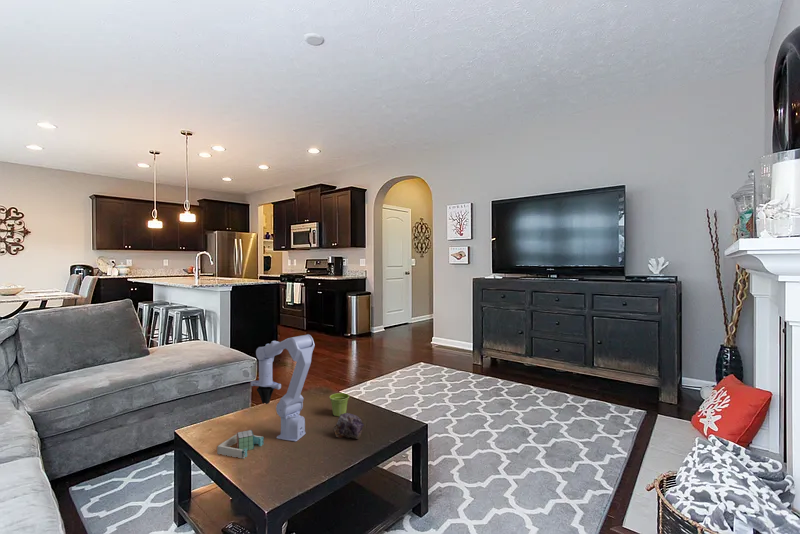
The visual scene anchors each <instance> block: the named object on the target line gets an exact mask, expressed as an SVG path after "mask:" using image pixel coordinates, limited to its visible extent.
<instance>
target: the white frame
mask: <svg viewBox="0 0 800 534" xmlns="http://www.w3.org/2000/svg"><path fill="white" fill-rule="evenodd" d="M253 435H254V445H258V447H262V446H263V445H264V436H261V435H255V434H253ZM235 444H237V433H236V434H234V435H233V436H230V438H228V439H226V440H225V441H223V442H222V443H220V444H219V445H217V447H216V450H217V451H216V453H217V454H218V455H220V454H222V455H221V456H226V455H227V456H226V457H231V456H232V458H236V457H238V459H241V458H242V459H243V460H244V459H246V458H247V457H248V450H247V448H245V449H244V450H242V449H237V447H236V448H235V447H232V446H234V445H235ZM230 446H231V447H230ZM245 457H246V458H245Z"/></svg>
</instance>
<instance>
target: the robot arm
mask: <svg viewBox="0 0 800 534" xmlns="http://www.w3.org/2000/svg"><path fill="white" fill-rule="evenodd" d="M315 346H316V345H315V341H314V338H313V337H312V335H311V334H309V333H307V334H304V335H298V336H293V337H288V338H286V339H284V340H281V341H277V340H272V341H271V342H270V343H266V344H265V346H258V347H257V348H256V350H255V355H256V356H255V357H256V358H257V360H258V380H255V379H253V380H251V381H250V387H254V386H255V387H257V388H256V391H257V393H258V395H259V396H260V397H259V398H260V399H261V404H265V405H268V404H270V401H271V397H272V395H273V392H274V391H275V389H276V390H280V389H282V384H281V383H278V382H276V381H274V380H273V362H274V360H275V356H278V355H281V354H282V352H283V351H284V350H287V351H288V354H289V355H290V358H291V359H292V361H293V362H295V365H294V366H295V367H294V369H293V372H292V376H291V378H290V382H289V385H288V388H287V391H286V393H285V394H284V395H282V397H281V398H280V399H279V402H278V403H276V406H275V409H276V410H275V411H276V413H277V415H278V416H279V417H280V434H278V435H277V436H276V438H275V439H279V440H284V441H291V442H297V441H299V440H300V439H301V438H302V437H304V436H305V435H306V434H307V433H306V419H305V417H304V416H303V415H300V414H301V411H303V410H302V409H304V408H303V407H304V403H303V402H304V399H305V398H304V397H303V395H302V394H301V393H302V390H303V389H304V388H303V387H304V386H305V385H304V384H305V381H306V379H307V376H308V373H309V370H310V367H311V363H312V357H313V353H314V352H313V351H314V349H315Z"/></svg>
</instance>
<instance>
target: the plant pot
mask: <svg viewBox="0 0 800 534" xmlns="http://www.w3.org/2000/svg"><path fill="white" fill-rule="evenodd" d="M349 398H350V394H348V393H345V392H338V393H332V394H331V395H329V399H330V402H331V409H332V415H333V416H335V417H340V415H341V414H344V413H347V409H348V401H349Z"/></svg>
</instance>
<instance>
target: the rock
mask: <svg viewBox="0 0 800 534" xmlns="http://www.w3.org/2000/svg"><path fill="white" fill-rule="evenodd" d="M362 421H363V420H362V419H361V417H360V416H358V415H356V414H352V413H350V412H346V413H344V414H341V415H340V416H338V420H337V422H336V423H335V425H334V426H333V427H332V429H333V432H334V434H335V437H336V438H347V439H350V438H351V439H356V440H359V439H360V438H361V436H362V433H363V428H364V425H365V424H364V423H363V422H362Z"/></svg>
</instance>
